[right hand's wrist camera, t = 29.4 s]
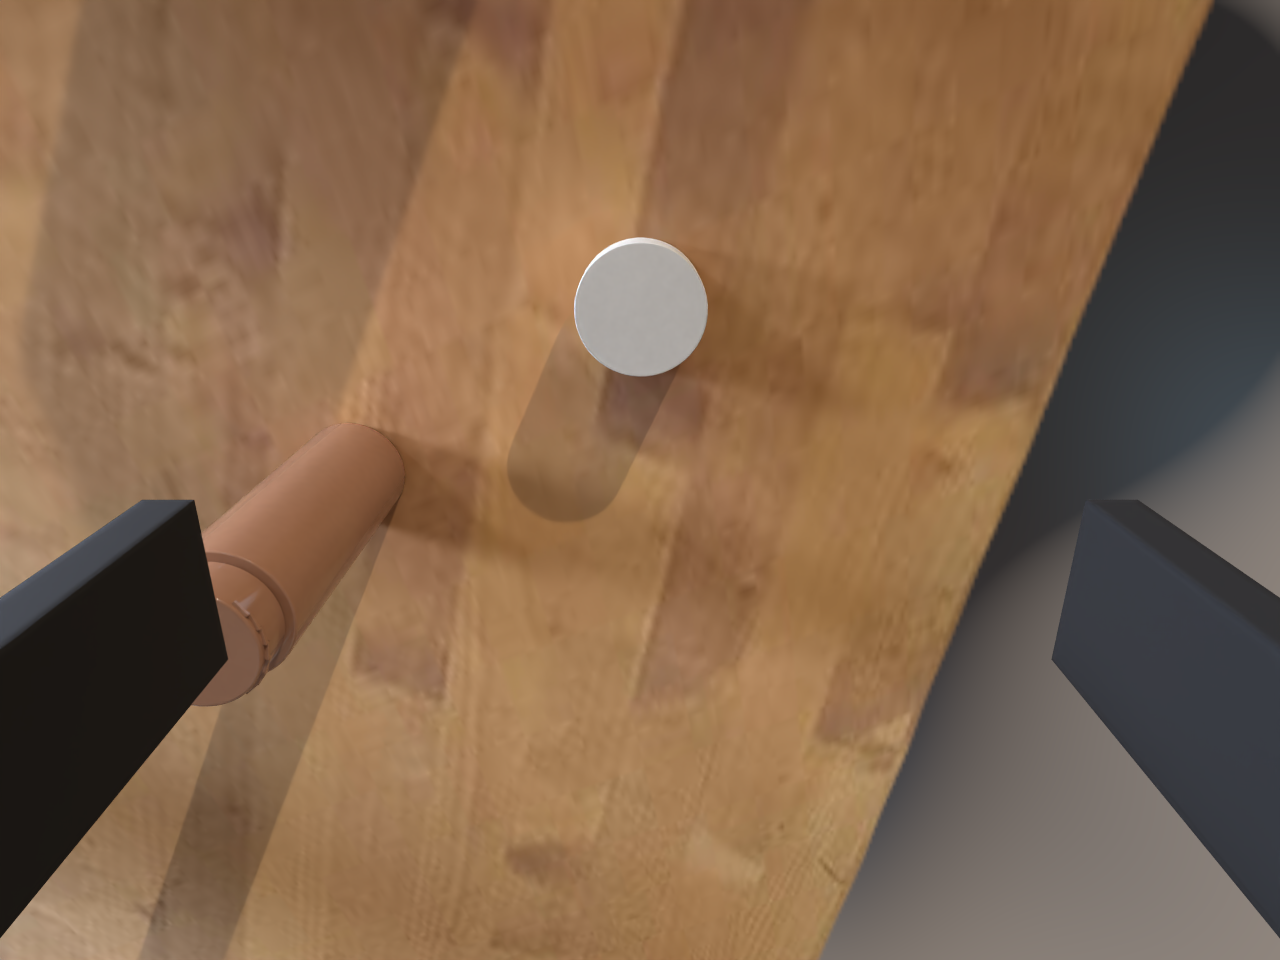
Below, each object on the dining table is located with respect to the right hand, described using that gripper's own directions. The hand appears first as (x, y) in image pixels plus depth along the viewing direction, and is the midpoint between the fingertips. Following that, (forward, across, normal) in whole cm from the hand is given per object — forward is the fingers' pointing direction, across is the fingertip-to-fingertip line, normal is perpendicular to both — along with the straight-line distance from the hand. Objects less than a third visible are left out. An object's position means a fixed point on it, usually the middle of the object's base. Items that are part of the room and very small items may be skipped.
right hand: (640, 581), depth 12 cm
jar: (+26, +14, +8) cm, 31 cm away
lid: (+24, 0, 0) cm, 24 cm away
